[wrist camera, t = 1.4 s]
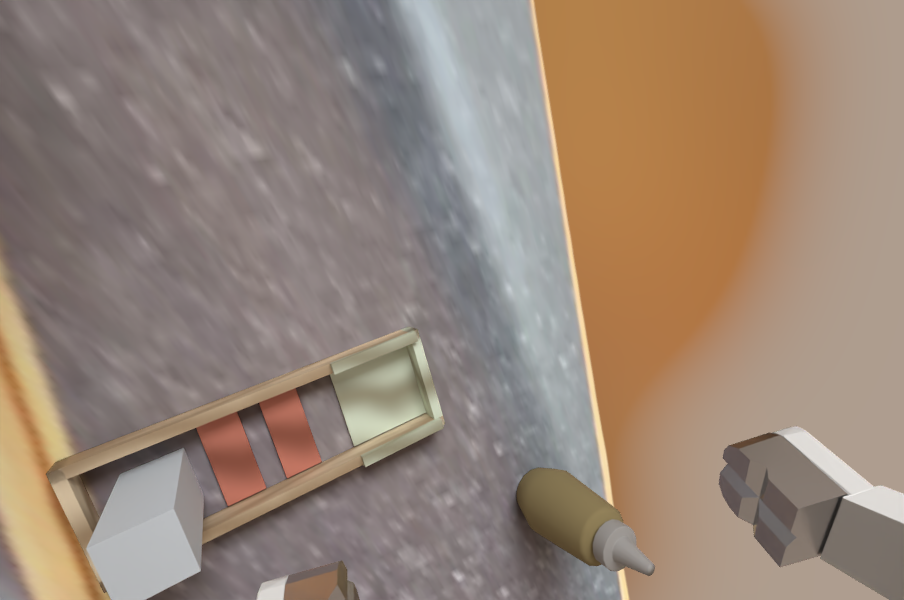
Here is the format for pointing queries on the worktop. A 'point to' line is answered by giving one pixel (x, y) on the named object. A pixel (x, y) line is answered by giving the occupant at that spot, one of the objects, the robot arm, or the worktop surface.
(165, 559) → the blue-grey block
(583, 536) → the squeeze bottle
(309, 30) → the worktop surface
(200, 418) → the channel
